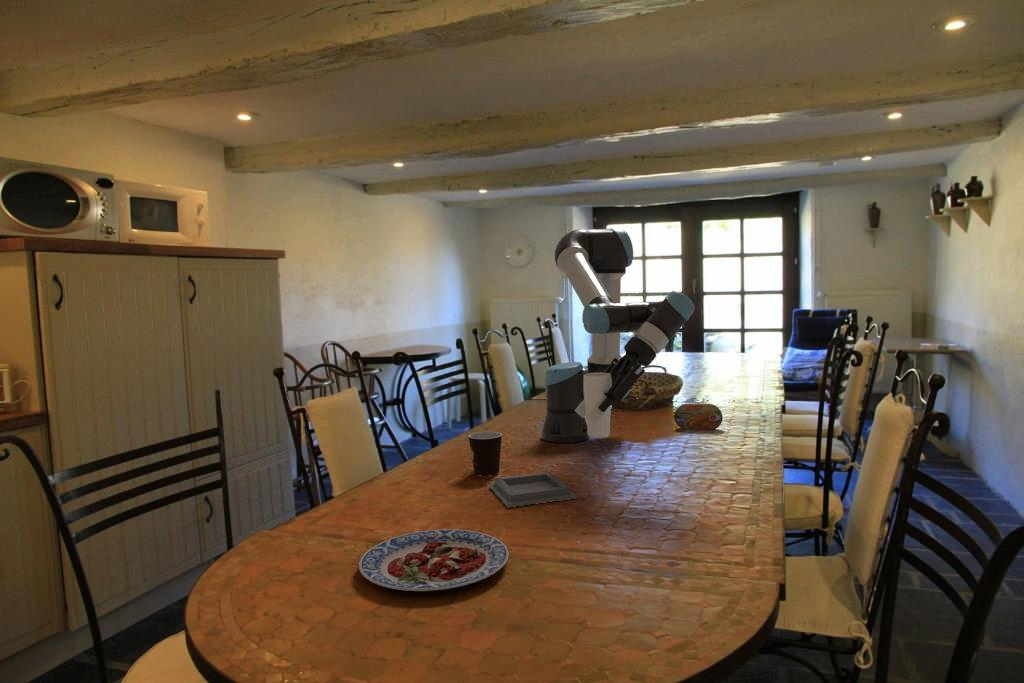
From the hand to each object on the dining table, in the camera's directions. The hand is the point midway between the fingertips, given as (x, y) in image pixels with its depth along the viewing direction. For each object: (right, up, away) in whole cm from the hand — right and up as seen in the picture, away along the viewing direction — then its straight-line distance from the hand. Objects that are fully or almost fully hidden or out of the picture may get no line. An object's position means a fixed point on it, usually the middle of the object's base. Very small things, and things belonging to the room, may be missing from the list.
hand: (584, 417), depth 161 cm
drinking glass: (+4, -5, +1) cm, 6 cm away
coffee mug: (-24, -16, +15) cm, 32 cm away
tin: (+43, -11, +57) cm, 72 cm away
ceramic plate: (-31, -22, -44) cm, 58 cm away
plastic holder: (-13, -17, -4) cm, 22 cm away
